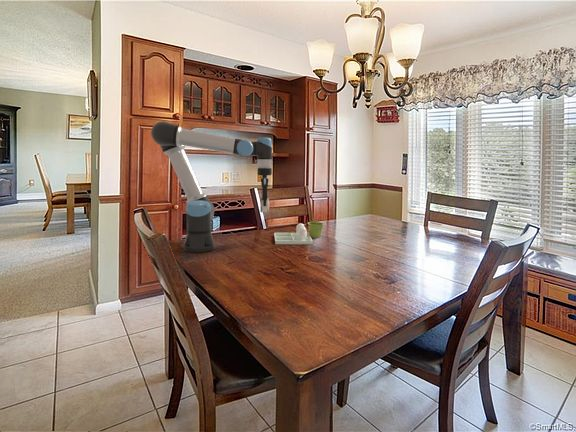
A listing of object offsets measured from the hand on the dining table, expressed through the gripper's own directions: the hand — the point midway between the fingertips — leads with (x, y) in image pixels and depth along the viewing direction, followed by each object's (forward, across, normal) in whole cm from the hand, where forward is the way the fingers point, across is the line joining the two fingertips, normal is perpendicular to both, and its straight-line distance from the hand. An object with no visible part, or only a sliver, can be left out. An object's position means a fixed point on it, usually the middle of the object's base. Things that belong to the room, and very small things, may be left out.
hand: (264, 211), depth 186 cm
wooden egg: (0, 0, 0) cm, 0 cm away
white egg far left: (+16, +6, -20) cm, 27 cm away
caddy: (+17, +1, -16) cm, 23 cm away
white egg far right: (+16, -4, -20) cm, 26 cm away
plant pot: (+17, +9, -30) cm, 35 cm away
